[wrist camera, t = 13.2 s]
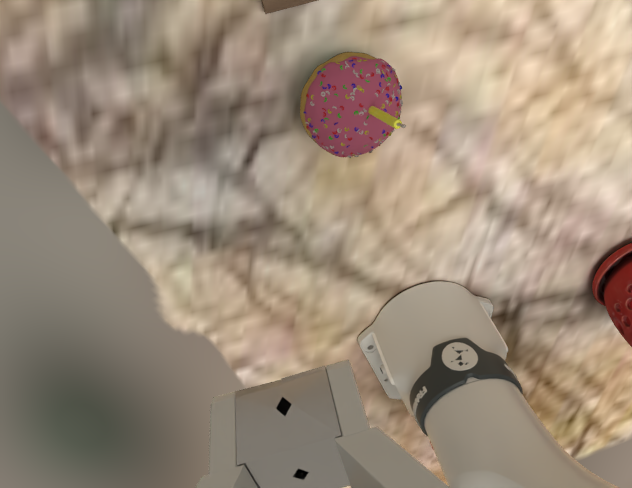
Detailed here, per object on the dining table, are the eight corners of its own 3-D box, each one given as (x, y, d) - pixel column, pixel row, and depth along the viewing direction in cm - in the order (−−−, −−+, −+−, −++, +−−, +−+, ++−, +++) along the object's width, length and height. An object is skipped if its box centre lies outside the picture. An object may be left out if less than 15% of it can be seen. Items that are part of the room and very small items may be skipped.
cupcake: (365, 23, 37) (415, 51, 28) (397, 110, 42) (450, 160, 33) (277, 73, 38) (295, 117, 29) (318, 152, 43) (346, 213, 34)
